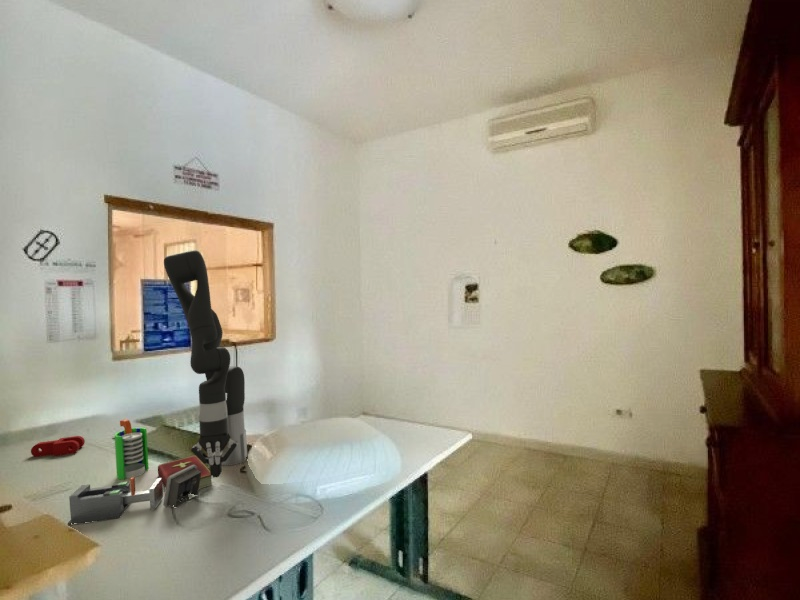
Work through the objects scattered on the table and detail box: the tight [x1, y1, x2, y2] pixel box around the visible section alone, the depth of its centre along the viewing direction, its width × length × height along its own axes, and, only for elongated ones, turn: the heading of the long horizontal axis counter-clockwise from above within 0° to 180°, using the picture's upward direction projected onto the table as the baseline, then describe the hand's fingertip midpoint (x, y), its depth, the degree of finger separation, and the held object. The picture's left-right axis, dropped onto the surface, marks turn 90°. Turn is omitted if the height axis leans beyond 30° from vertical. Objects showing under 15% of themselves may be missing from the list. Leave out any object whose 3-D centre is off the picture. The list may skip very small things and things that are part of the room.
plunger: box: [123, 477, 164, 510], centre depth 121 cm, size 13×7×8 cm, turn 103°
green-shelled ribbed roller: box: [114, 418, 149, 480], centre depth 146 cm, size 9×8×18 cm
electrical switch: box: [163, 465, 201, 508], centre depth 124 cm, size 9×5×9 cm, turn 158°
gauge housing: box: [67, 481, 132, 527], centre depth 120 cm, size 12×10×7 cm
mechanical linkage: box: [30, 435, 86, 458], centre depth 169 cm, size 16×7×5 cm, turn 108°
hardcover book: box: [157, 454, 213, 490], centre depth 139 cm, size 12×21×4 cm, turn 38°
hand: (216, 476), depth 126 cm, fingers closed
